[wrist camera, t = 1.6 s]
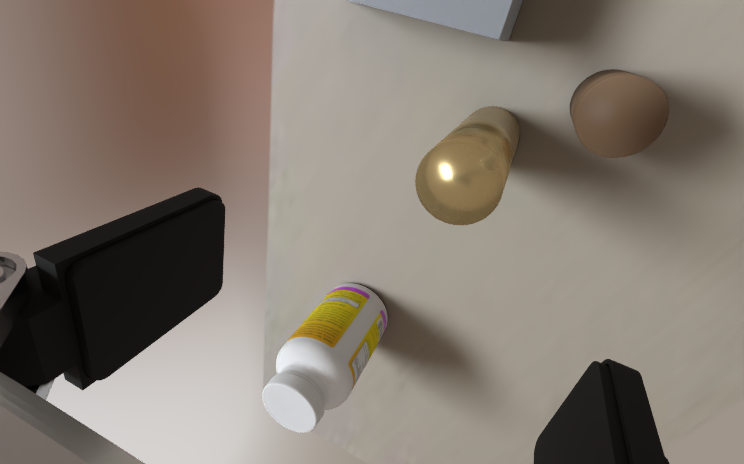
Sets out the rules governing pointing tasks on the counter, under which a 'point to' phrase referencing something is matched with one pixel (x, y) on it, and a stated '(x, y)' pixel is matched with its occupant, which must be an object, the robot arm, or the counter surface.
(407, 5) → the socket block
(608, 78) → the short peg
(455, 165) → the tall peg
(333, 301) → the supplement bottle
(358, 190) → the counter surface
